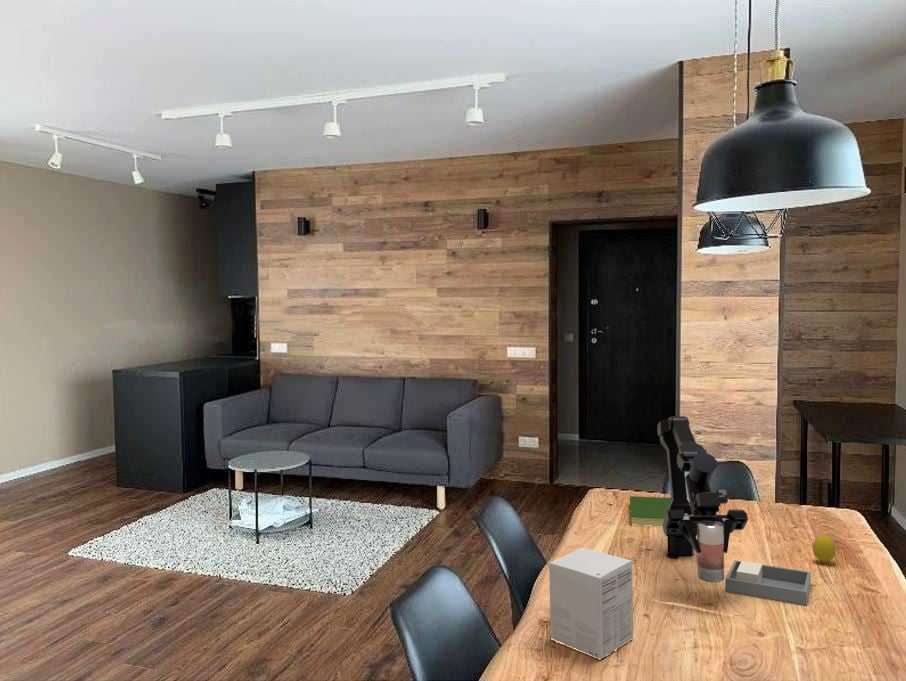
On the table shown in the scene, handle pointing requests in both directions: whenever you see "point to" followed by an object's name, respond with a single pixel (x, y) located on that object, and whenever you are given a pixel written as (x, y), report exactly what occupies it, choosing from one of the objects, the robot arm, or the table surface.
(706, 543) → the steel tin
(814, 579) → the table surface
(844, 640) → the table surface
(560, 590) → the supplement box
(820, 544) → the lemon
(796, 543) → the table surface
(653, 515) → the hardcover book
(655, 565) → the table surface
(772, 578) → the tote
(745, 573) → the white rectangular block
